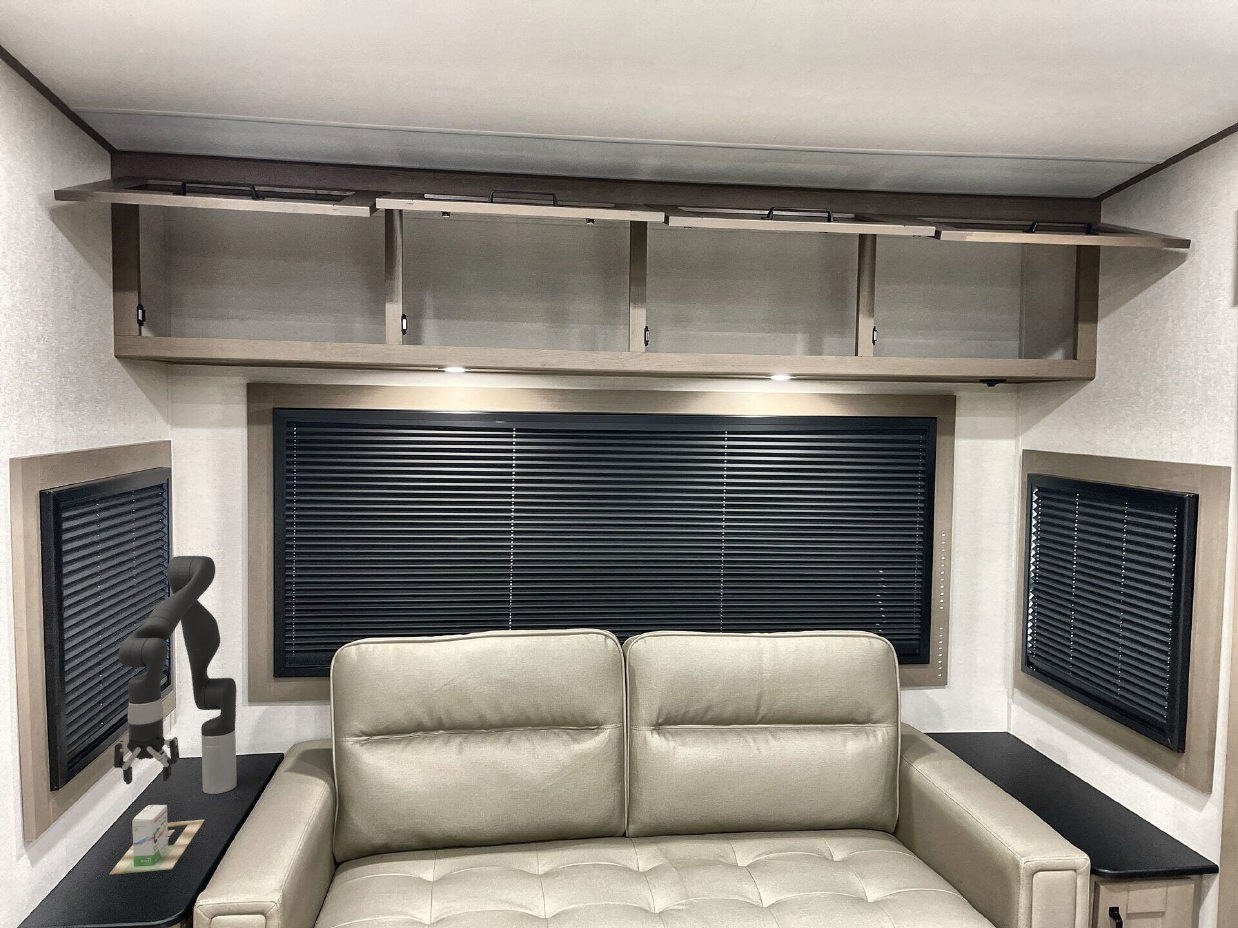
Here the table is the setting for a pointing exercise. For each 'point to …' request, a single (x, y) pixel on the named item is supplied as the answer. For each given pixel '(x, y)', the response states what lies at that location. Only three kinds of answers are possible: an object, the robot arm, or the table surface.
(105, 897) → the table surface
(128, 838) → the table surface
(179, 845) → the beige rectangular frame
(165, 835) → the ink box
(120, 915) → the table surface
